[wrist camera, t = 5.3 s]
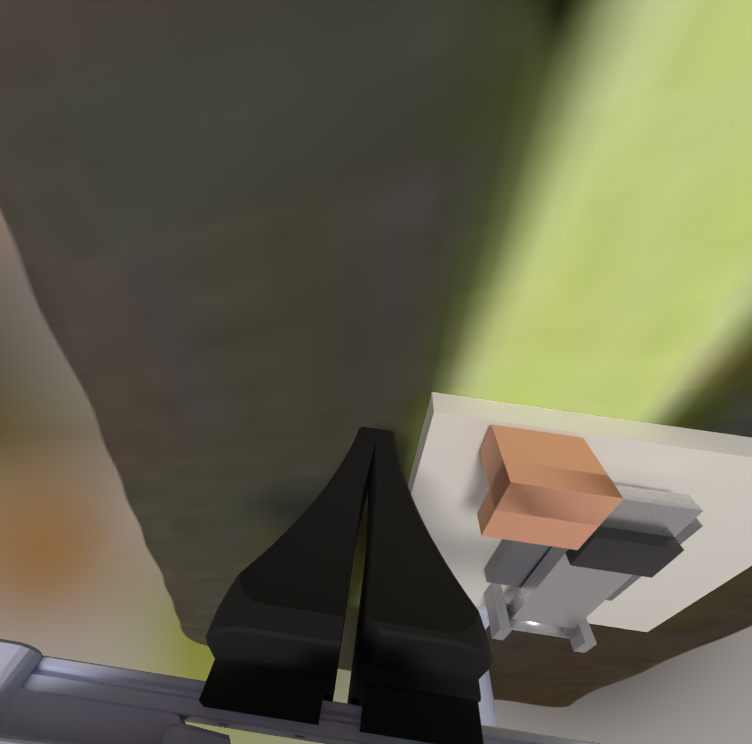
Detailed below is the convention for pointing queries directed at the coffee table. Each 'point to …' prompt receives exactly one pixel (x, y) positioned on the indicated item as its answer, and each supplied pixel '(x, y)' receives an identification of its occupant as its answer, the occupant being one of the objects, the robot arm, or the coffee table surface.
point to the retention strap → (602, 561)
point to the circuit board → (624, 467)
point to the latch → (543, 488)
